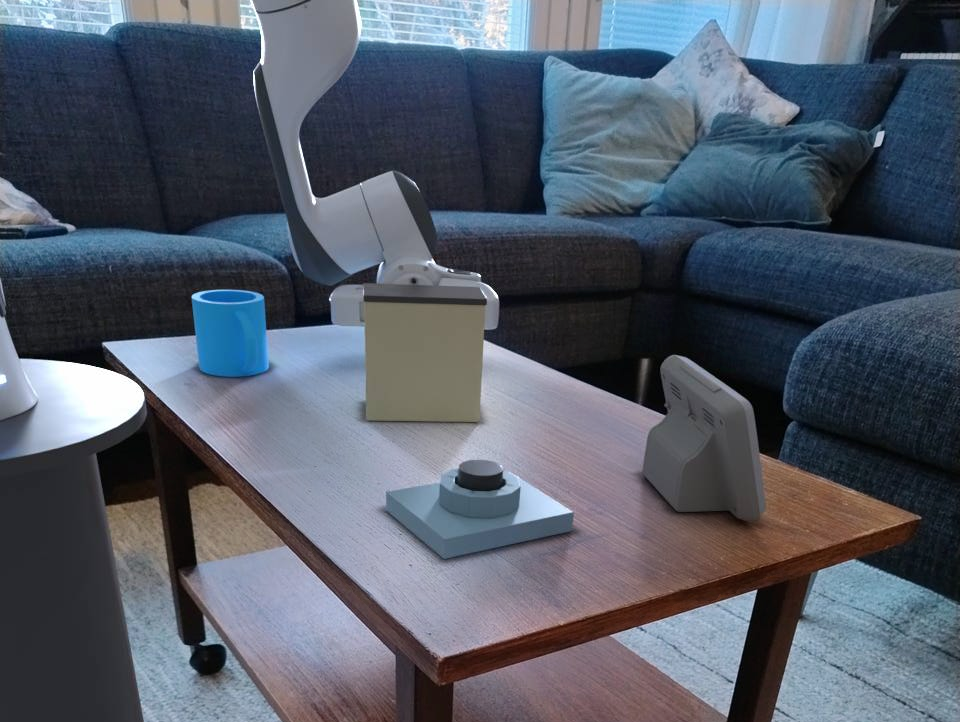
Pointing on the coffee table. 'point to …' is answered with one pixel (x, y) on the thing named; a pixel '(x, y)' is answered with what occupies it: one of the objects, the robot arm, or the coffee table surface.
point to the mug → (230, 332)
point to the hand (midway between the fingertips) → (418, 322)
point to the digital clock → (705, 445)
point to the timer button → (480, 475)
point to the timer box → (477, 514)
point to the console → (423, 352)
